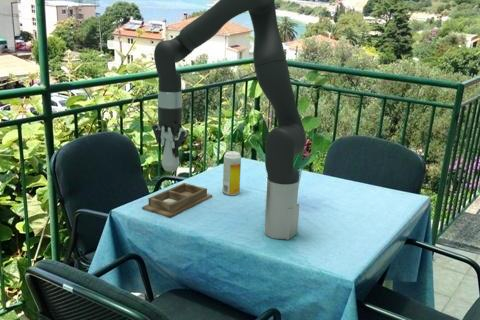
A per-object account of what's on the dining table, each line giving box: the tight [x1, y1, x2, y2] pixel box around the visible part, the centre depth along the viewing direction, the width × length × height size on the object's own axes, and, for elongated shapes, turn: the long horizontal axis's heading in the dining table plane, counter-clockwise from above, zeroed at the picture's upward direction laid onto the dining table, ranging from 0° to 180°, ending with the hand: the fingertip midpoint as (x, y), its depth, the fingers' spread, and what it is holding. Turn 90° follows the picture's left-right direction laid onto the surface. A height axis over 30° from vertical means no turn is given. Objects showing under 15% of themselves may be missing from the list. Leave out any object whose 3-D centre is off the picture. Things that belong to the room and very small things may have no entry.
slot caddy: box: [141, 182, 213, 219], centre depth 175 cm, size 12×23×4 cm, turn 148°
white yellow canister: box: [222, 150, 242, 197], centre depth 184 cm, size 6×6×15 cm
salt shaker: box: [161, 132, 181, 172], centre depth 166 cm, size 6×6×13 cm
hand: (170, 157), depth 166 cm, fingers closed on salt shaker, 3 cm apart
